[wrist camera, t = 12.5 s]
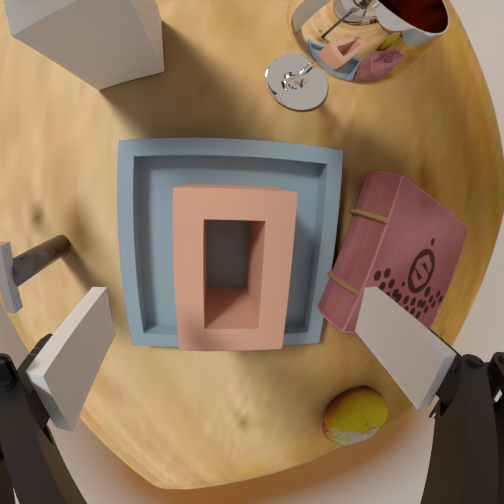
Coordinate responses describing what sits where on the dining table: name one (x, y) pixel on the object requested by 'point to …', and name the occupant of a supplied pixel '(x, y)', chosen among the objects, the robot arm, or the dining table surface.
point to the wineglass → (352, 45)
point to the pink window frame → (258, 267)
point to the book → (394, 252)
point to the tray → (221, 225)
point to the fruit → (354, 415)
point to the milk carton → (92, 36)
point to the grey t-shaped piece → (26, 267)
